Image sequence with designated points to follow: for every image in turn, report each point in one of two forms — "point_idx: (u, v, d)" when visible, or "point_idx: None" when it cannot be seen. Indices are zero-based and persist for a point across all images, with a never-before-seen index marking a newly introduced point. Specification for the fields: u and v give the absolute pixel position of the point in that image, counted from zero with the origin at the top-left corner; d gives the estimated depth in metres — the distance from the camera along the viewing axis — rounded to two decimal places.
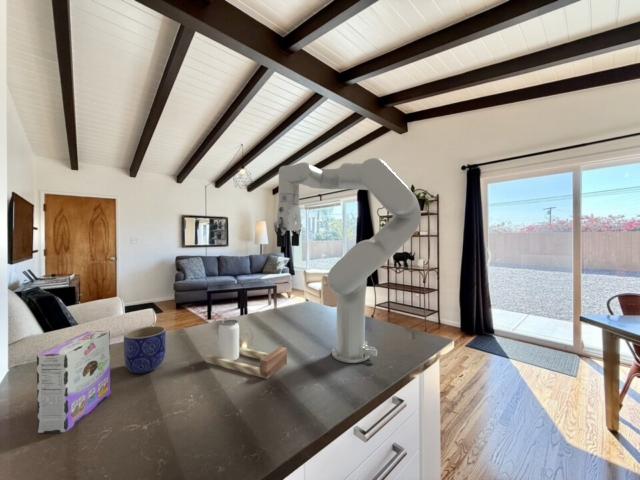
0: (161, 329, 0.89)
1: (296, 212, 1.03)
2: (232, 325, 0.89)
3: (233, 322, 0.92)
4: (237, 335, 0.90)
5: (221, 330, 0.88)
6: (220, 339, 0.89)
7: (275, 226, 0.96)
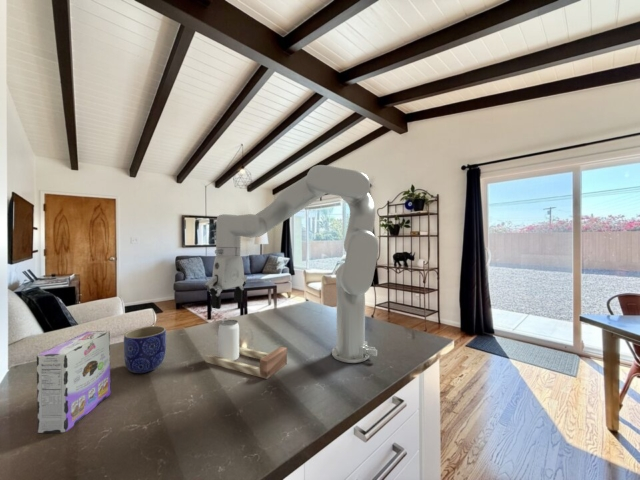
0: (161, 329, 0.89)
1: (236, 266, 0.91)
2: (232, 325, 0.89)
3: (233, 322, 0.92)
4: (237, 335, 0.90)
5: (221, 330, 0.88)
6: (220, 339, 0.89)
7: (207, 287, 0.84)
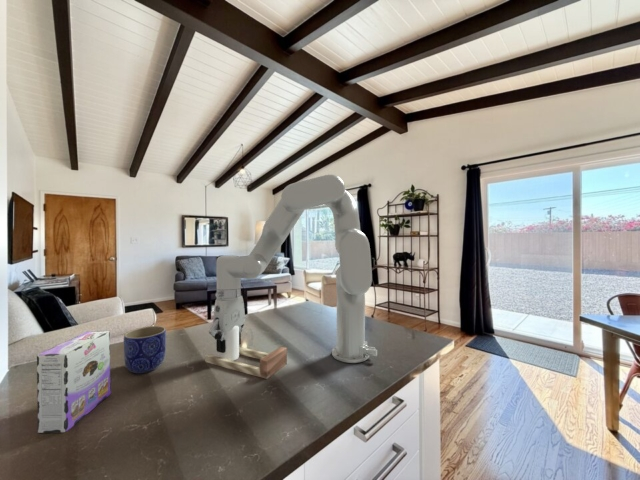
0: (161, 329, 0.89)
1: (237, 307, 0.91)
2: None
3: None
4: (237, 335, 0.90)
5: None
6: None
7: (211, 334, 0.85)
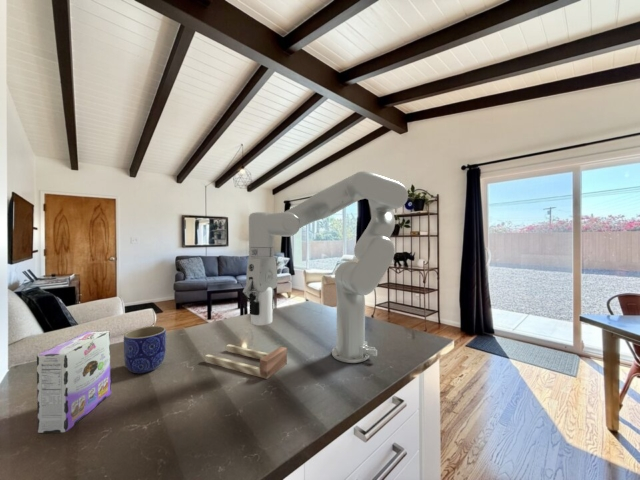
0: (161, 329, 0.89)
1: (271, 268, 0.85)
2: None
3: None
4: (271, 297, 0.84)
5: None
6: None
7: (246, 294, 0.79)
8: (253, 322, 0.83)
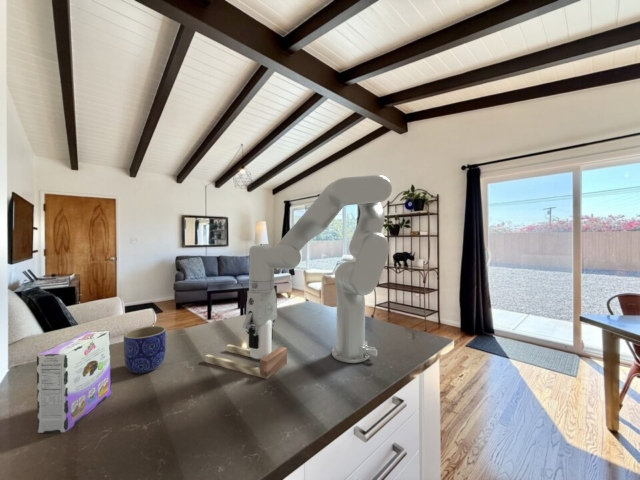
0: (161, 329, 0.89)
1: (270, 300, 0.85)
2: None
3: None
4: (270, 330, 0.85)
5: None
6: None
7: (245, 328, 0.79)
8: (252, 355, 0.83)
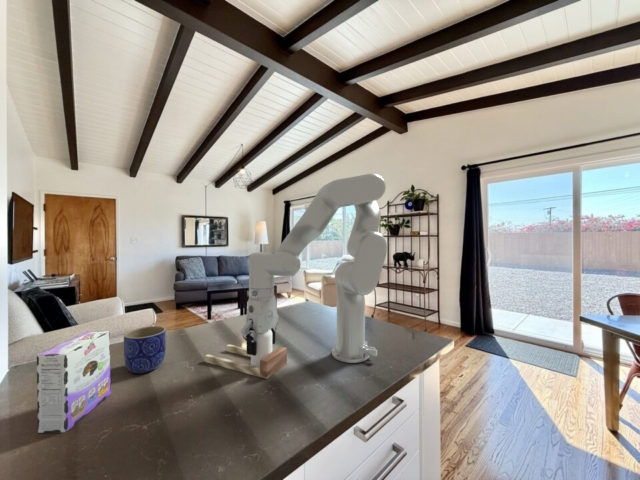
0: (161, 329, 0.89)
1: (270, 307, 0.85)
2: (266, 331, 0.83)
3: None
4: (271, 342, 0.85)
5: None
6: None
7: (243, 334, 0.78)
8: None
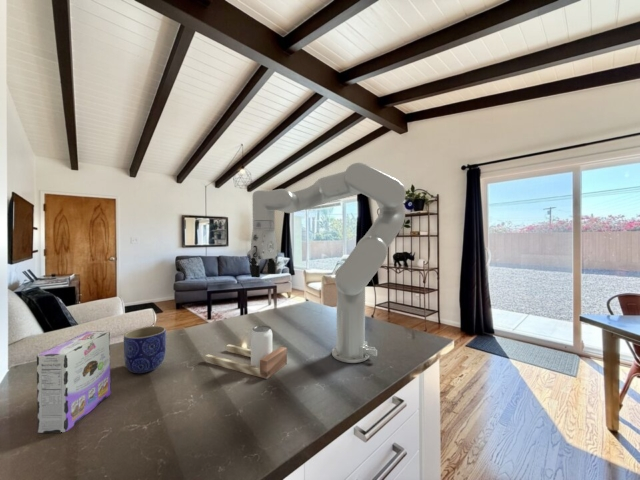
0: (161, 329, 0.89)
1: (272, 239, 0.97)
2: (266, 332, 0.83)
3: (266, 328, 0.86)
4: (271, 342, 0.84)
5: (254, 336, 0.83)
6: (253, 346, 0.83)
7: (249, 256, 0.90)
8: None
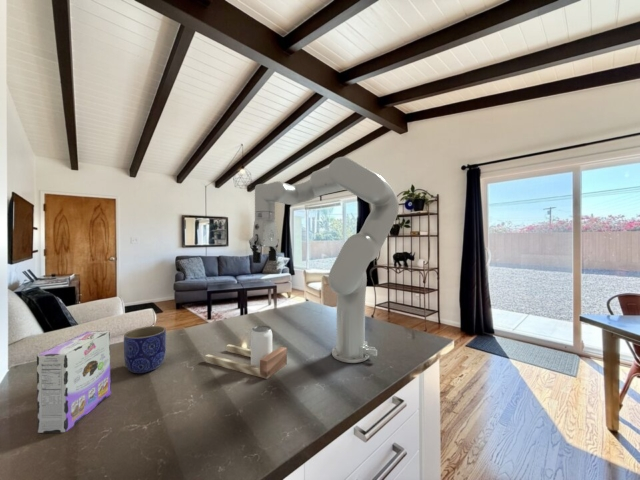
0: (161, 329, 0.89)
1: (272, 228, 1.06)
2: (266, 332, 0.83)
3: (266, 328, 0.86)
4: (271, 342, 0.84)
5: (254, 336, 0.83)
6: (253, 346, 0.83)
7: (250, 243, 0.99)
8: None
